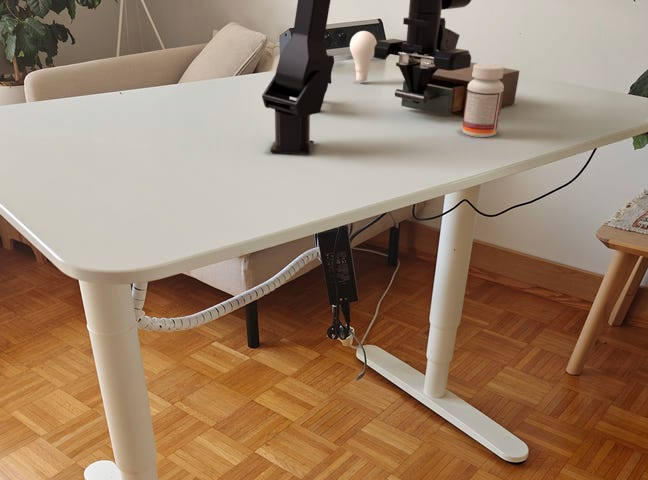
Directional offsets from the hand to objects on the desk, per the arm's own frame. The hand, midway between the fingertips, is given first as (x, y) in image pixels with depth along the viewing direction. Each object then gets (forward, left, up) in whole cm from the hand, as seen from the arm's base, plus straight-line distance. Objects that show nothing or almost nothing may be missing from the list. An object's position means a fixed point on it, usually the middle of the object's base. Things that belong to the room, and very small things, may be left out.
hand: (416, 103), depth 130 cm
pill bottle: (-9, -11, -3) cm, 15 cm away
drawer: (+6, -5, -2) cm, 8 cm away
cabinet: (+12, -10, -3) cm, 16 cm away
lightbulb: (+31, +12, -3) cm, 33 cm away
